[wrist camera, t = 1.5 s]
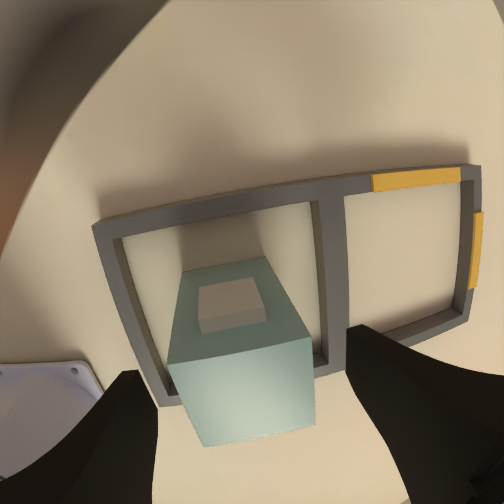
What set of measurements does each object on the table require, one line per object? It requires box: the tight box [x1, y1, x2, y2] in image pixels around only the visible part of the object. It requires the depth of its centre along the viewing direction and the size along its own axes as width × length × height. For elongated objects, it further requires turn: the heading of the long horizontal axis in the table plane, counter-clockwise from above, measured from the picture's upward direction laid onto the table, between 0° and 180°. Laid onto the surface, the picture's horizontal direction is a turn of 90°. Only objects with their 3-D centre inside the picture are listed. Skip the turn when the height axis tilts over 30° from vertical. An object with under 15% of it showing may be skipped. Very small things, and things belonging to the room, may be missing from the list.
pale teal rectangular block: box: [167, 256, 316, 447], centre depth 12 cm, size 4×4×7 cm
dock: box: [91, 164, 484, 407], centre depth 15 cm, size 21×11×1 cm, turn 99°
